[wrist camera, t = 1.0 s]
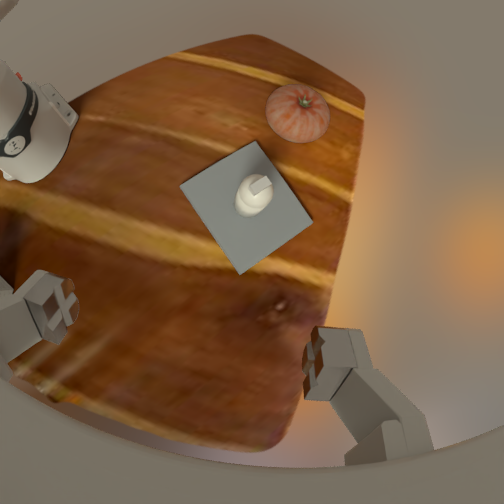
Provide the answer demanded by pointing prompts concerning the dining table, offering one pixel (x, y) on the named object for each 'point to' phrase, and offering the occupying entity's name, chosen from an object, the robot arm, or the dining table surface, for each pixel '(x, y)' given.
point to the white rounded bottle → (253, 195)
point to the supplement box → (5, 288)
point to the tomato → (297, 113)
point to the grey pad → (235, 226)
